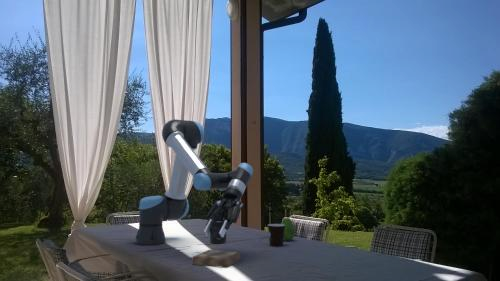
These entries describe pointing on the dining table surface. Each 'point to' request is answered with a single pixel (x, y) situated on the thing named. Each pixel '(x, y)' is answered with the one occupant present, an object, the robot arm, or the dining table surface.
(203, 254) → the pedestal
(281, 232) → the coffee mug
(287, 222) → the avocado
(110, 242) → the dining table surface
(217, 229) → the supplement bottle
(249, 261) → the dining table surface
